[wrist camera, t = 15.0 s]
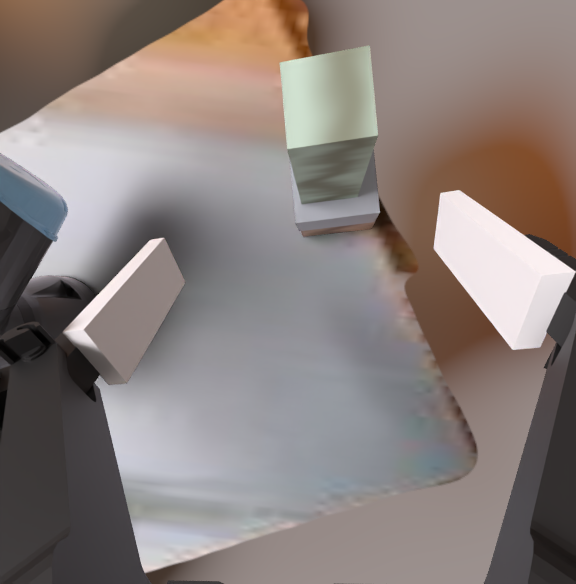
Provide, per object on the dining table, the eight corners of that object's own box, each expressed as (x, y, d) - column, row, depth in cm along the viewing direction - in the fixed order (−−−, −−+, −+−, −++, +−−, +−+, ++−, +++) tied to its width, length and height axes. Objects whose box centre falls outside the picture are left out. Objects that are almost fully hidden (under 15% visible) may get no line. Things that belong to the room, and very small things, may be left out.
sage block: (301, 204, 31) (287, 149, 20) (296, 149, 32) (279, 62, 20) (357, 197, 31) (378, 135, 19) (352, 141, 31) (369, 45, 19)
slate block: (299, 231, 36) (295, 223, 32) (292, 159, 36) (288, 142, 32) (374, 222, 34) (379, 212, 30) (366, 147, 35) (371, 128, 31)
